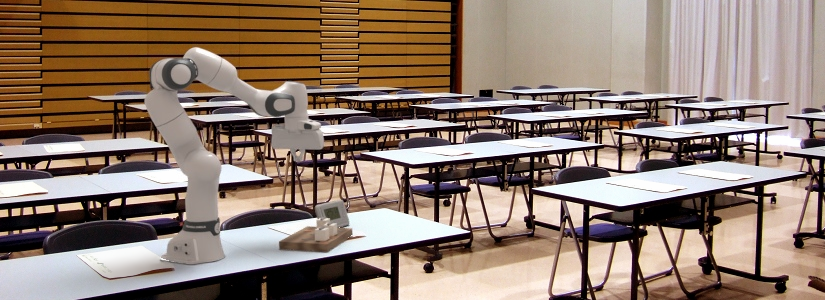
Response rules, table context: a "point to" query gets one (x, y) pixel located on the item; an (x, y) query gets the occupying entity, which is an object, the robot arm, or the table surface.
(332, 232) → the switch middle
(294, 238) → the switch housing
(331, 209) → the digital clock
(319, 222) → the switch back
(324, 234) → the switch front
